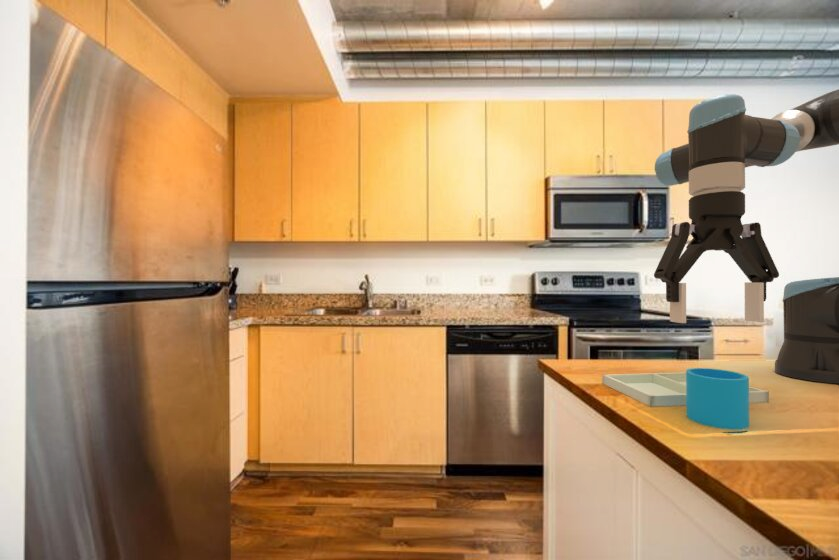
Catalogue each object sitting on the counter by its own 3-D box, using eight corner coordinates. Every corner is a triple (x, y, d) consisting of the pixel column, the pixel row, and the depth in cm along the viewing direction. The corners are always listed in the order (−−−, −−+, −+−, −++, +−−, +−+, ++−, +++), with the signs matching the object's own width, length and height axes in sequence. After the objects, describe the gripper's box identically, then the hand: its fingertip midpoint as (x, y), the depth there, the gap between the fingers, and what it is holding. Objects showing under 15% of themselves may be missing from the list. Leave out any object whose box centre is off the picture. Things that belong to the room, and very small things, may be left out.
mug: (746, 438, 58) (746, 383, 58) (681, 424, 64) (681, 374, 64) (752, 417, 67) (752, 369, 67) (695, 406, 73) (694, 362, 73)
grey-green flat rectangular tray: (700, 382, 89) (700, 371, 89) (768, 405, 73) (768, 391, 73) (602, 386, 87) (602, 374, 87) (650, 409, 71) (650, 396, 71)
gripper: (763, 199, 70) (763, 318, 70) (630, 197, 68) (631, 320, 68) (808, 190, 63) (808, 323, 63) (660, 187, 61) (661, 325, 61)
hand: (716, 322), depth 66 cm, fingers open, 13 cm apart
